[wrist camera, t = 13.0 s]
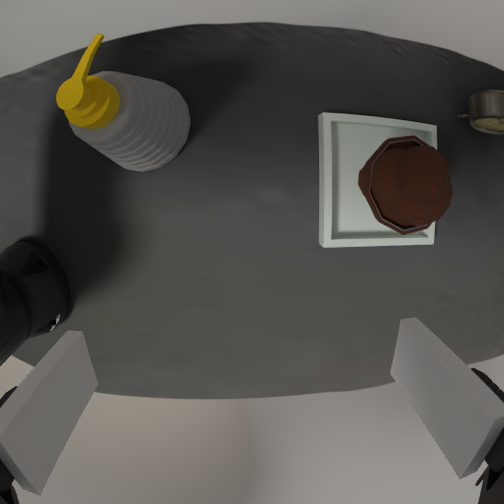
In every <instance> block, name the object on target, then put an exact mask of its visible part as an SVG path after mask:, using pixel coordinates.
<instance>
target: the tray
mask: <svg viewBox="0 0 504 504" xmlns="http://www.w3.org/2000/svg"><path fill="white" fill-rule="evenodd" d="M318 129H319V244H320V245H321V246H322V247H323V248H324V247H357V246H390V245H424V244H434V233H435V222H433V223H432V224H431V225H430V227H429V228H428V229H425V230H421V231H417V232H414V233H410V234H406V235H402V234H400V233H398V232H396V231H394V230H392V229H391V228H389V227H387V226H385V225H383V224H381V223H379V222H378V221H377V220H376V219H375V217H374V215H373V212H372V210H371V208H370V206H369V204H368V202H367V200H366V198H365V196H363V194H362V192H361V190H360V188H359V186H358V177H359V171H360V170H361V169H362V168H363V166H364V165H365V164H366V161H367V160H368V159H369V158H370V157H371V156H372V155H373V153H374V152H375V151H376V150H377V149H378V148H379V146H380V145H381V144H382V143H383V142H384V141H385V140H387V139H388V138H395V137H403V136H412V135H415V136H416V137H418V138H419V139H421V140H422V141H424V142H425V143H427V144H428V145H430V146H433V147H434V148H435V149H436V150H437V128H436V125H430V124H424V123H418V122H412V121H405V120H398V119H390V118H382V117H373V116H363V115H352V114H340V113H324V112H323V113H321V114H320V115H318Z"/></svg>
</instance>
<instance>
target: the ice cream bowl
mask: <svg viewBox="0 0 504 504" xmlns="http://www.w3.org/2000/svg"><path fill="white" fill-rule="evenodd" d="M448 172H449V167H448V165H447V160H446V159H445V158H443V156H442V154H441V153H440V152H439V151H437V150H436V149H435V148H434V147H433V146H430V145H428V144H427V143H425V142H424V141H422V140H421V139H419V138H418V137H416V136H415V135H412V136H403V137H395V138H388V139H387V140H385V141H384V142H383V143H382V144H381V145H380V146H379V148H378V149H377V150H376V151H375V152H374V153H373V155H372V156H371V157H370V158H369V159H368V160H367V161H366V164H365V165H364V166H363V168H362V169H361V170H360V171H359V177H358V186H359V188H360V190H361V192H362V194H363V196H365V198H366V200H367V202H368V204H369V206H370V208H371V210H372V212H373V215H374V217H375V219H376V220H377V221H378V222H379V223H381V224H383V225H385V226H387V227H389V228H391V229H392V230H394V231H396V232H398V233H400V234H402V235H406V234H410V233H414V232H417V231H421V230H425V229H428V228H429V227H430V225H431V224H432V223H433V222H435V221H437V220H438V219H440V217H441V216H443V214H444V212H445V211H446V210H447V208H448V207H449V206H450V201H451V197H452V195H453V193H452V185H451V182H450V177H449V175H448Z"/></svg>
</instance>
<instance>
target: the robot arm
mask: <svg viewBox="0 0 504 504" xmlns="http://www.w3.org/2000/svg"><path fill="white" fill-rule="evenodd" d="M68 308H69V289H68V284H67V280H66V277H65V275H64V273H63V270H62V269H61V267H60V265H59V263H58V262H57V260H56V259H55V258H54V257H53V255H52V254H51V253H50V252H49V251H48V250H46V249H45V248H44V247H42V246H41V245H39V244H37V243H34V242H30V241H22V242H18V243H16V244H13V245H11V246H9V247H7V248H6V249H5V250H4V251H3V252H2V253H1V254H0V366H1V365H2V364H3V363H4V362H5V361H6V360H7V359H8V358H9V357H10V356H11V355H12V354H13V353H14V352H15V351H16V350H17V349H18V348H19V347H20V346H21V345H22V344H23V342H25V341H26V340H27V339H28V338H32V337H35V336H39V335H42V334H46V333H48V332H50V331H52V330H54V329H55V328H56V327H57V326H58V325H59V324H60V323H61V322H62V321H63V320H64V318H65V316H66V314H67V312H68ZM390 374H391V375H392V377H393V378H394V379H395V381H396V382H397V384H398V385H399V387H400V388H401V390H402V391H403V393H404V394H405V396H406V397H407V399H408V400H409V402H410V403H411V404H412V406H413V407H414V409H415V410H416V412H417V413H418V415H419V416H420V418H421V419H422V421H423V422H424V424H425V425H426V427H427V429H428V430H429V431H430V433H431V434H432V436H433V438H434V439H435V441H436V442H437V444H438V445H439V447H440V449H441V450H442V452H443V453H444V455H445V456H446V458H447V459H448V461H449V463H450V464H451V466H452V467H453V469H454V471H455V472H456V474H457V476H458V477H459V479H461V478H463V477H465V476H468V475H470V474H472V473H474V472H475V471H477V470H478V468H479V467H480V465H481V464H482V462H483V461H484V459H485V461H486V462H487V464H488V466H487V468H486V469H485V471H484V472H483V474H482V475H481V476H480V478H479V479H478V480H477V483H476V486H478V485H479V484H480V482H481V481H482V480H483V484H482V488H481V493H480V498H479V502H478V504H504V392H503V391H502V390H501V389H500V390H499V387H498V386H497V385H496V384H495V383H493V382H492V380H491V379H490V378H489V377H488V376H487V375H486V374H484V373H483V372H481V371H479V370H477V369H475V368H472V369H470V368H469V367H468V366H467V365H466V364H465V363H464V362H463V361H462V360H461V359H460V358H459V357H458V356H457V355H456V354H454V353H453V352H452V351H451V350H450V349H449V348H448V347H447V346H446V345H445V344H444V343H443V342H442V341H441V340H440V339H439V338H438V337H437V336H436V335H434V334H433V333H432V332H431V331H430V330H429V329H428V328H427V327H426V326H425V325H424V324H423V323H421V322H420V321H419V320H418V319H417V318H416V317H415V318H408V319H401V322H400V327H399V333H398V338H397V344H396V349H395V353H394V358H393V363H392V367H391V372H390ZM97 386H98V382H97V379H96V376H95V373H94V370H93V367H92V363H91V360H90V357H89V353H88V350H87V346H86V343H85V339H84V335H83V331H67V332H66V333H65V334H64V335H63V336H62V337H61V338H60V339H59V341H58V342H57V343H56V344H55V345H54V346H53V347H52V348H51V349H50V350H49V352H48V353H47V354H46V355H45V356H44V357H43V358H42V359H41V361H40V362H39V363H38V364H37V365H36V366H35V367H34V369H33V370H32V371H31V372H30V373H29V374H28V375H27V377H26V378H25V379H24V380H23V381H22V383H21V384H20V385H19V386H18V387H17V386H15V387H14V388H13V389H11V390H9V391H8V392H6V393H5V394H4V396H3V397H2V398H1V399H0V504H19V501H18V498H17V494H16V492H15V489H14V487H13V486H12V482H13V480H14V479H15V480H16V481H17V482H18V483H19V485H20V486H21V487H22V488H23V489H24V490H27V491H29V492H32V493H35V494H37V495H41V493H42V491H43V488H44V486H45V484H46V482H47V480H48V478H49V476H50V474H51V472H52V470H53V468H54V466H55V464H56V462H57V460H58V458H59V456H60V454H61V452H62V450H63V448H64V446H65V444H66V442H67V440H68V439H69V436H70V435H71V433H72V431H73V429H74V427H75V425H76V423H77V422H78V420H79V418H80V416H81V414H82V412H83V411H84V409H85V407H86V405H87V403H88V401H89V400H90V398H91V396H92V394H93V393H94V391H95V389H96V387H97Z"/></svg>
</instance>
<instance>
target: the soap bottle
mask: <svg viewBox="0 0 504 504" xmlns="http://www.w3.org/2000/svg"><path fill="white" fill-rule="evenodd" d="M103 38H104V36H103V35H102V34H97V35H96V36H95V38H94V39H93V41H92V42H91V43H90V45H89V46H88V48H87V50H86V51H85V53H84V55H83V57H82V59H81V61H80V63H79V65H78V67H77V69H76V71H75V73H74V74H73V76H72V78H70V79H69V80H67V81H65V82H64V83H63V84H62V85H61V86H60V88H59V90H58V92H57V96H56V101H57V104H58V106H59V107H60V108H61V109H63V110H65V115H66V117H67V118H68V120H69V125H70V126H71V128H72V130H73V132H74V134H75V135H76V136H78V137H79V138H81V139H82V140H83V141H85V142H86V143H88V144H89V145H90V146H92V147H93V148H95V149H96V150H98V151H99V152H101V153H102V154H104V155H105V156H107V157H108V158H110V159H111V160H113V161H114V162H116V163H117V164H119V165H120V166H122V167H123V168H125V169H128V170H134V171H140V172H145V171H149V170H153V169H157V168H161V167H162V166H164V165H165V164H166V163H168V162H169V161H171V160H172V159H173V158H175V157H176V156H177V154H178V153H179V151H180V150H181V148H182V147H183V145H184V144H185V143H186V141H187V137H188V133H189V128H190V124H191V121H190V115H189V109H188V105H187V103H186V102H185V100H184V99H183V97H182V96H181V94H180V93H179V91H178V90H176V89H174V88H172V87H171V86H169V85H167V84H166V83H164V82H161V81H157V80H152V79H148V78H143V77H139V76H134V75H129V74H125V73H119V72H113V71H102V72H99V73H96V74H93V75H91V76H87V75H88V72H89V69H90V66H91V63H92V60H93V57H94V55H95V52H96V51H97V49H98V47H99V45H100V43H101V42H102V40H103Z"/></svg>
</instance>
